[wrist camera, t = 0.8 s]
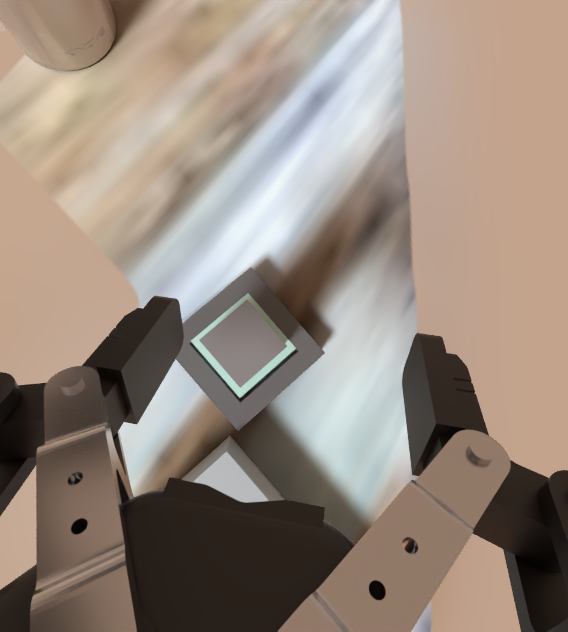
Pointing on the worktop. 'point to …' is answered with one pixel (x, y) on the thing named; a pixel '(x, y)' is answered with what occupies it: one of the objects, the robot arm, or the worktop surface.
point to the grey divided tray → (233, 474)
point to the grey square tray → (271, 383)
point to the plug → (243, 345)
